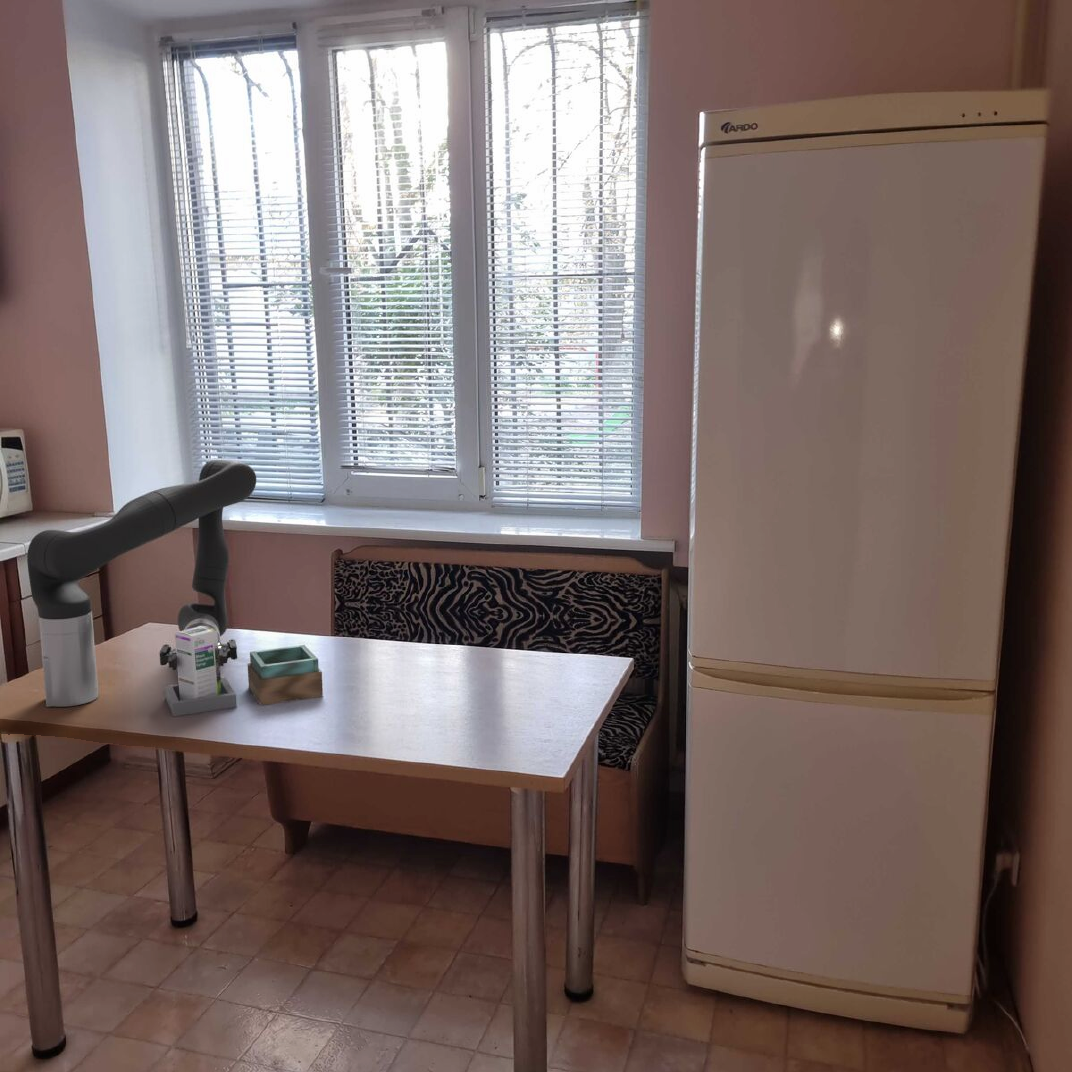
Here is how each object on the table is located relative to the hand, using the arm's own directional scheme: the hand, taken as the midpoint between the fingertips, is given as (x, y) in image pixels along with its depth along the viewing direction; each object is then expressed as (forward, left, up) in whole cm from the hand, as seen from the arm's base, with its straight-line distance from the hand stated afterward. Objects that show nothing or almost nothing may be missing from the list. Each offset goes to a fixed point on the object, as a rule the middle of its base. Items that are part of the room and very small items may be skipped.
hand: (197, 662), depth 183 cm
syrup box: (0, +2, -9) cm, 9 cm away
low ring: (0, +2, -8) cm, 9 cm away
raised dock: (+16, +1, -8) cm, 18 cm away
